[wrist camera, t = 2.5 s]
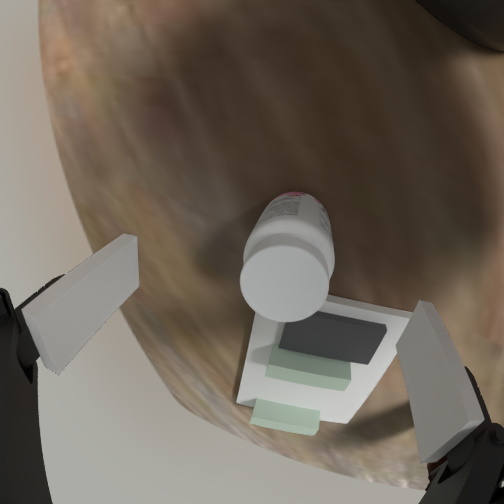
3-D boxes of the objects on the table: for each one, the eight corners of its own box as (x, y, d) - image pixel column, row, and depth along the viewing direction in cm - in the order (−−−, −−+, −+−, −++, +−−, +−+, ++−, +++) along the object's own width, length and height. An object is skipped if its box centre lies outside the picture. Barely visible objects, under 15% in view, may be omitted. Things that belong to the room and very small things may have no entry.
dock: (263, 279, 22) (254, 305, 19) (413, 312, 21) (423, 339, 18) (238, 396, 29) (230, 420, 26) (347, 416, 28) (346, 441, 25)
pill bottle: (253, 240, 21) (218, 306, 14) (275, 180, 19) (248, 217, 11) (313, 264, 21) (309, 341, 13) (340, 207, 19) (357, 262, 11)
